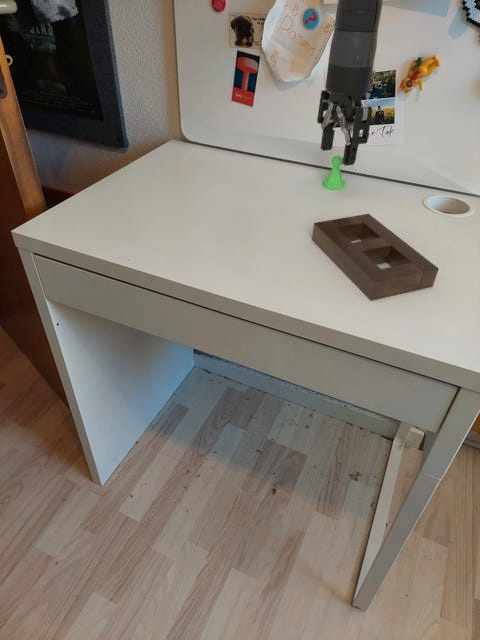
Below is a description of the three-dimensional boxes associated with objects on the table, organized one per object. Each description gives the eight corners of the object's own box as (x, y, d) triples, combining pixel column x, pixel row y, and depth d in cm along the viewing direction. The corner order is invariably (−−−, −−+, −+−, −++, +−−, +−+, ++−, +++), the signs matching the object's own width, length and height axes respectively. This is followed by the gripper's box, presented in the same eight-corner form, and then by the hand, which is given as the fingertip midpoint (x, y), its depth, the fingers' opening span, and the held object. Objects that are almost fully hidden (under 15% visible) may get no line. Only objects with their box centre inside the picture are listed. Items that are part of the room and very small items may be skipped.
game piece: (333, 179, 93) (337, 149, 89) (349, 186, 90) (354, 156, 86) (318, 184, 91) (321, 154, 87) (333, 191, 88) (338, 160, 84)
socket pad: (365, 229, 76) (368, 213, 74) (432, 286, 63) (439, 268, 61) (311, 239, 73) (313, 222, 71) (371, 300, 61) (375, 282, 59)
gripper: (394, 67, 72) (374, 168, 82) (349, 52, 83) (335, 143, 93) (353, 70, 70) (337, 172, 80) (312, 54, 81) (302, 146, 91)
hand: (336, 156), depth 87 cm, fingers open, 8 cm apart
